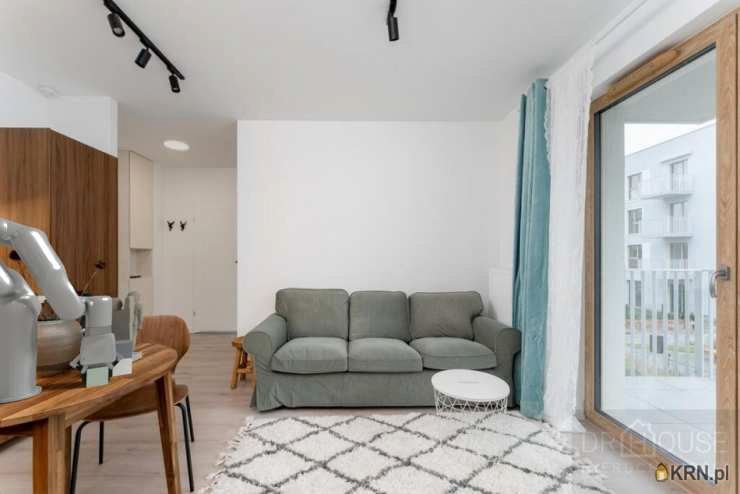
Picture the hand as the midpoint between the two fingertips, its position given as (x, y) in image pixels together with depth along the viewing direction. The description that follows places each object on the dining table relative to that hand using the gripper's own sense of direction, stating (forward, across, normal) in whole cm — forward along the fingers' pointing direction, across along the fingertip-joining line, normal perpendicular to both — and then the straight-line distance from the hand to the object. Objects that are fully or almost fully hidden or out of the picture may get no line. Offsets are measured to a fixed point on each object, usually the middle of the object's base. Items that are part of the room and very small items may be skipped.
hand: (97, 381), depth 130 cm
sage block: (+1, 0, 0) cm, 1 cm away
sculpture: (+1, +11, +28) cm, 30 cm away
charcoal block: (-5, +8, +9) cm, 13 cm away
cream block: (+1, +8, +9) cm, 12 cm away
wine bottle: (+1, -3, +27) cm, 27 cm away
